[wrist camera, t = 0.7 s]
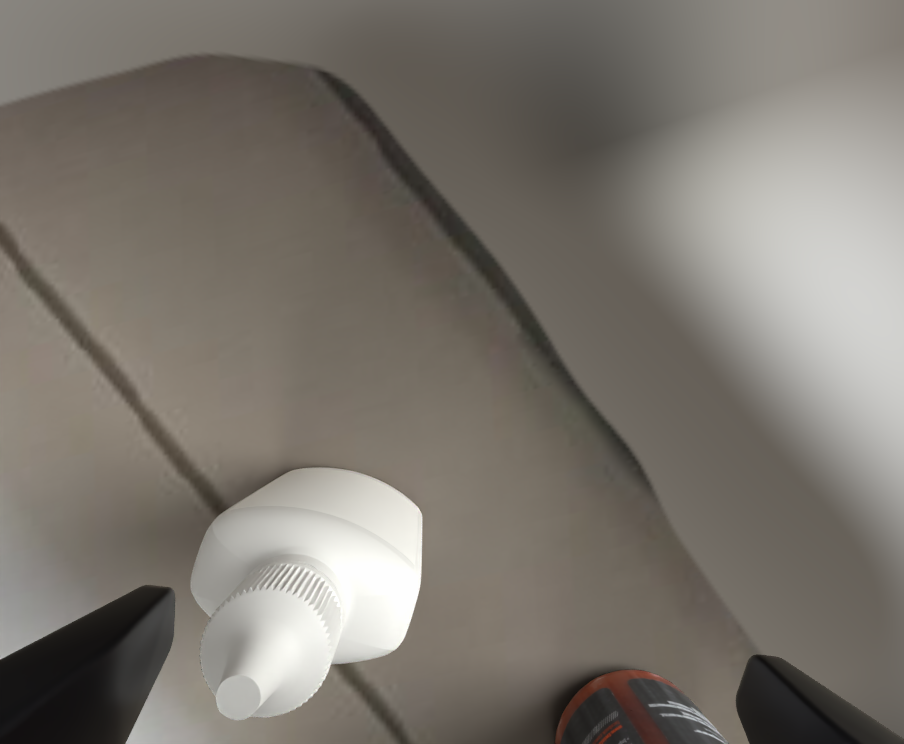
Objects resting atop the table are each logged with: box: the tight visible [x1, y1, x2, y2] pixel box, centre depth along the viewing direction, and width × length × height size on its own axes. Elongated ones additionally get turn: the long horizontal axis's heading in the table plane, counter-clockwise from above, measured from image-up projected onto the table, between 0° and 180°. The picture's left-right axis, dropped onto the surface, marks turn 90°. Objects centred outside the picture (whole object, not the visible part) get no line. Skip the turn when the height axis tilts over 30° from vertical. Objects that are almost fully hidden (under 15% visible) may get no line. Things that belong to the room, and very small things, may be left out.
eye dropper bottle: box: [191, 467, 422, 720], centre depth 14 cm, size 4×6×12 cm
